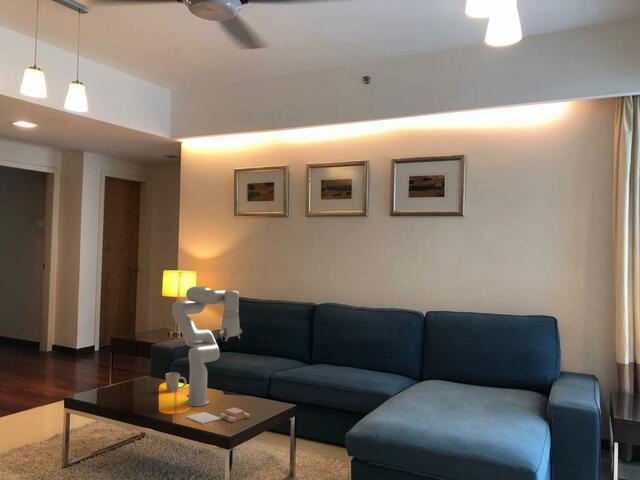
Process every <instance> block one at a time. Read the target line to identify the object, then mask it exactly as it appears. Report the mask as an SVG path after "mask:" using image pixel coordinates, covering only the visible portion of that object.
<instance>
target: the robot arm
mask: <svg viewBox="0 0 640 480" xmlns="http://www.w3.org/2000/svg"><path fill="white" fill-rule="evenodd" d="M185 296H186V298H187V299H181V300H176V301H175V302H174V303H173V305H172V310H171V312H172V313H171V314H172V317H173V319H174V321H175V323H176V324H177V325H178V327H179V330H180V332H181V335H182V337H183V339H184V341H185V344H186V345H187V346H188V347H191V348H190V349H189V350H188V361H189V381H188V382H189V386H188V387H189V388H188V394H186V396H185V397H187V400H186V401H185V404H186V406H188V407H202V406H203V407H204V406H207V405H209V404H210V400H209V399H207V393H208V369H207V366H206V364H205V363H210V362H214V361H217V360H218V359H219V358H220V355H221V353H220V348H219V345H218V343H217V342H216V339H215V337H214V334H213V332H212V331H211V330H210V329H209V328H205V327H204V328H202V327H201V328H198V327H197V325H196V324H195V322H194V320H193V319H192V318H191V317H190V316H189V315H196V314H197V315H198V314H201V313H202V312H203V311H204V310H205V308H206V307H207V305H223V318H222V320H221V331H220V332H219V337H220V340H221V349H222V350H228V348H229V347H228V346H229V345H228V344H229V343H228V342H229V341H228V340H229V338H231V337H234V338H233V346H234V347H236V348H237V347H238V348H239V347H240V339H241V336H242V332H243V329H242V328H241V326H240V317H239V316H240V315H239V312H240V311H239V308H240V307H239V305H240V302H239V300H240V299H239V298H240V297H239V296H240V293H239V291H238V290H231V289H211V288H210V287H209V286H191V287H189V288H188V289H187V290H186V293H185Z"/></svg>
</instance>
